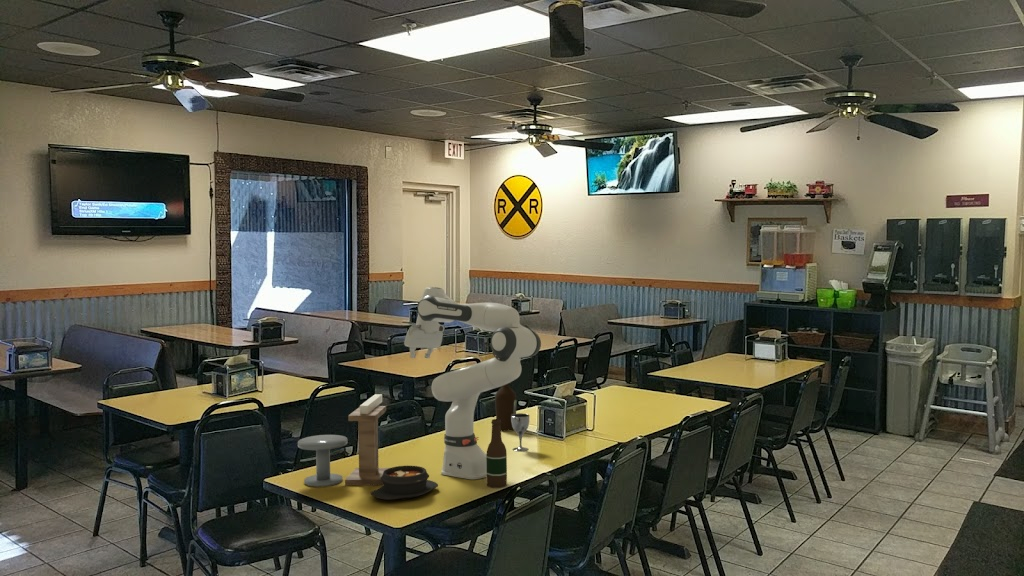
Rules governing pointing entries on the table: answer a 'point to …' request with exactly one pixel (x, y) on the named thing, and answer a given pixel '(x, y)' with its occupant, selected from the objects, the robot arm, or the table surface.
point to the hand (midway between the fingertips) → (419, 358)
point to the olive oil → (505, 406)
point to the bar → (370, 404)
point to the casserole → (404, 483)
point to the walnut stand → (367, 448)
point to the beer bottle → (496, 458)
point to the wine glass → (520, 427)
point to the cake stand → (322, 458)
